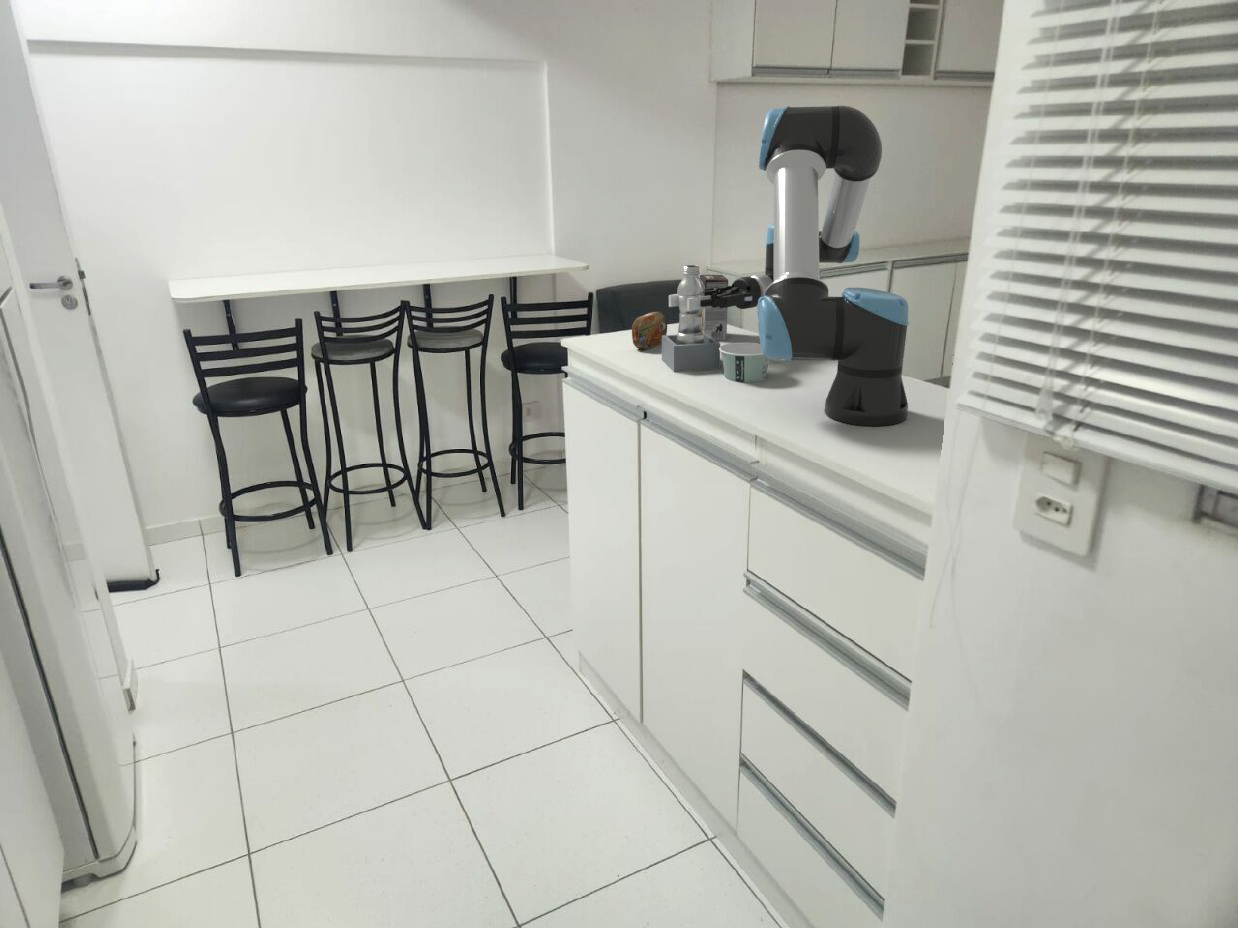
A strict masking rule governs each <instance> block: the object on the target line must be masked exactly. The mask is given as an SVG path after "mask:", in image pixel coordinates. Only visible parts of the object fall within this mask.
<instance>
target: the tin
mask: <svg viewBox="0 0 1238 928" xmlns="http://www.w3.org/2000/svg"><path fill="white" fill-rule="evenodd" d="M667 333H668V321H667V318H666V314H665V313H664V312H662V311H652V312H648V313H646V314H644V315H641V316H637V317H636V318H635V319H634V321H633V323H632V326H631V337H632V338H631V339H632V343H633V345H634V347H635V348H636V349H640V350H649V349H652V348H654V347H655V346H658V345H662V335H668V334H667Z"/></svg>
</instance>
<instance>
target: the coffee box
mask: <svg viewBox="0 0 1238 928" xmlns="http://www.w3.org/2000/svg"><path fill="white" fill-rule="evenodd" d="M699 278H700V279H701V281H702V282H703V284H704V286H705V288H711V287H714V286H716V287H717V288H720V287H724V286H729V279H728V278H726V277H725V276H724V275H723V274H699ZM728 308H729V307H726V308H719V307H716V308H713V307H712V306H711V308H704V309H703V310H702V327H703V333H707V334H708V335H709V336H711V337H712V338H714V339H715V340H716V341H720V340H721V341H722V340H723V341H724V340H726V341H727V336H728V335H727V334H728V333H727V332H728V331H727V329H728V328H727V325H728Z"/></svg>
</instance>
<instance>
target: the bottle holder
mask: <svg viewBox="0 0 1238 928" xmlns="http://www.w3.org/2000/svg"><path fill="white" fill-rule="evenodd" d="M703 335H704V343H703V344H687V345H677V342H676V340H677V334H666V335H662V343H661V360H662V362H663V363H665V365H666V366H667V367H668V368H669V369H670V370H671V371H672V372H674V373H676V372H677V373H678V372H688V371H689V372H691V371H692V372H694V371H707V370H720V368H721V366H720V365H721V351H720V350H719V348H720V347H721V342H719V340H715V339H714V338H712V337H711V336H709V335H708V334H707V333H703Z"/></svg>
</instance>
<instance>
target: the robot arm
mask: <svg viewBox="0 0 1238 928" xmlns="http://www.w3.org/2000/svg"><path fill="white" fill-rule="evenodd" d="M762 129H763V130H762V135H761V142H760V143H761V144H760V150H759V158H758V167H759V170H761V171H764V172H766V173H765V174H766V177H767V180H768V181H769V182H770V183H771V184H773V223H771V224H770V225H769V226H768V227H767V232H766V233H767V234H766V242H765V248H766V249H765V250H766V251H765V271H764V274H758V275H752V276H751V275H750V276H746V277H738V278H737V279H735V280H734V281H733V283H732V284H731V285H728V286H724V287H720V288H717V287H716V286H714V287H711V288H705V293H704V294H705V295H704V296H701V297H694V298H687V310H688V311H691V310H698V309H704V308H711V306H712V307H713V308H716V307H719V308H726V307H728V308H730V307H731V308H732V307H736V308H737V309H739V310H746V309H752V308H757V311H756V312H757V320H758V322H757V325H758V326H757V327H758V334H759V342H760V344H761V348H762V351H763V353H764V355H765V356H766V357H767V358H769V359H770V360H780V361H781V360H782V361H785V362H790V361H837V367H836V368H837V370H836V375H835V376H834V379H833V382H832V384H831V386H830V389H829V391H828V394H827V395H826V396H827V397H826V398H825V401H824V402H825V403H824V414H825V415H826V416H827V417H828V418H831V419H833V420H835V421H838V422H842V423H845V424H850V425H857V426H871V427H872V426H873V427H876V426H877V427H878V426H881V427H883V426H891V425H895V424H896V425H897V424H900V423H902V422H904V421H906V420H907V418H908V413H909V402H908V398H907V394H906V391H905V385H904V382H903V365H904V357H905V349H906V348H905V347H906V340H907V331H908V326H909V325H910V324H909V323H910V322H909V303H908V301H907V299H905V298H904V297H903V296H901V295H899V294H898V293H897V294H896V293H893V292H889V291H885V290H880V289H876V288H875V289H873V288H867V287H846V288H845V289H844V290H843V292H842V293H841V296H829V287H828V285H827V284H826V282H824V281H823V280H821V278H820V264H821V263H825V264H827V263H828V264H832V263H833V264H835V263H836V264H843V263H854V262H855V261H856V260H857V259H858V256H859V252H860V234H859V232H858V231H856V228H857V224H858V221H859V217H860V214H861V210H862V208H863V204H864V200H865V197H866V194H867V191H868V188H869V184H870V182H871V179H872V177H874V176H875V175H876V174H877V172H878V171H879V168H880V164H881V161H882V155H883V147H882V146H883V143H882V140H881V136H880V133H879V131H878V129H877V127H876V126H875V124H874V123H873V121H872V120H871V118H869V117H868V115H866V113H864V112H863V111H861V110H859V109H858V108H857V109H856V108H855V107H853V106H849V105H848V106H847V105H835V106H832V105H831V106H830V105H829V106H792V107H791V106H788V105H787V106H785V107H778V108H772V109H770V110H769V111H768V112H767V113H766V115H765V117H764V123H763V127H762ZM828 169H830V170H833V171H834V174H833V180H832V184H831V187H830V192H829V197H828V201H827V204H826V205H827V206H826V211H825V214H824V218H823V219H824V220H823V223H822V228H821V230H820V225H819V224H820V223H819V222H820V221H819V219H820V217H819V215H820V214H819V181H820V180H821V179H822V178H823V177H824V174H825V173H826V170H828ZM668 307H669V308H673V307H675V308H676V307H679V301H678V293H673V294H669V295H668Z"/></svg>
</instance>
